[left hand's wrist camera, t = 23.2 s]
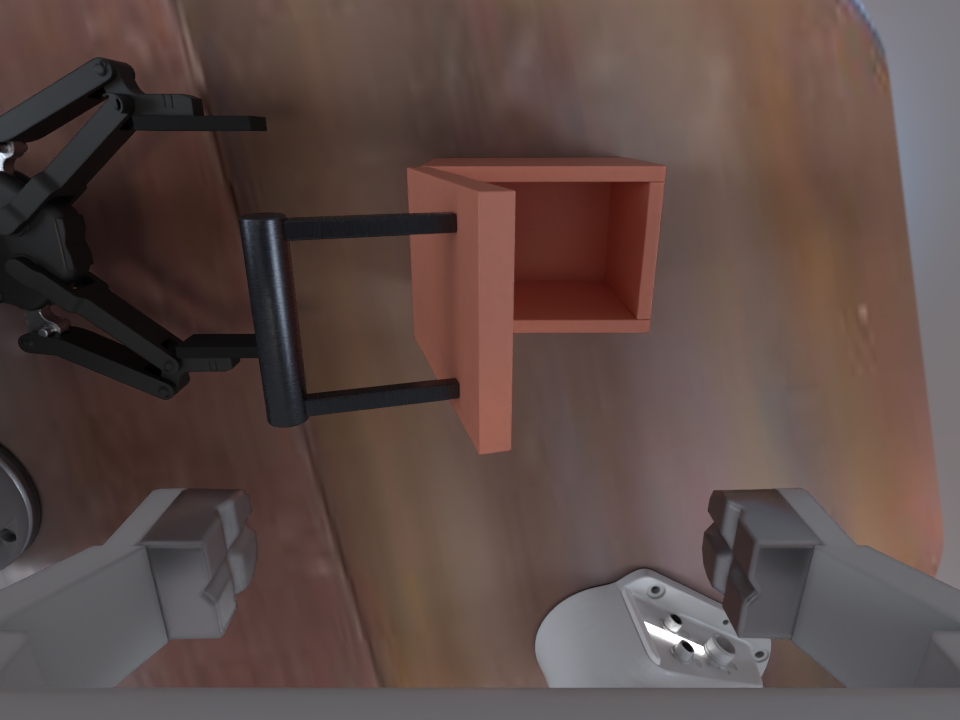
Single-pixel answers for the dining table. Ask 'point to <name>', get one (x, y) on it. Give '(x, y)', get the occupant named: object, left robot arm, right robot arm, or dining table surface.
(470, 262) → the lid
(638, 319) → the chest
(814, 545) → the left robot arm
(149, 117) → the right robot arm
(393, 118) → the dining table surface
